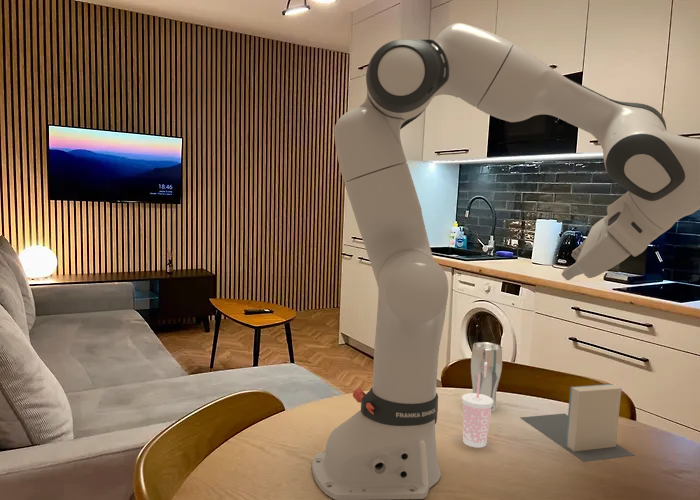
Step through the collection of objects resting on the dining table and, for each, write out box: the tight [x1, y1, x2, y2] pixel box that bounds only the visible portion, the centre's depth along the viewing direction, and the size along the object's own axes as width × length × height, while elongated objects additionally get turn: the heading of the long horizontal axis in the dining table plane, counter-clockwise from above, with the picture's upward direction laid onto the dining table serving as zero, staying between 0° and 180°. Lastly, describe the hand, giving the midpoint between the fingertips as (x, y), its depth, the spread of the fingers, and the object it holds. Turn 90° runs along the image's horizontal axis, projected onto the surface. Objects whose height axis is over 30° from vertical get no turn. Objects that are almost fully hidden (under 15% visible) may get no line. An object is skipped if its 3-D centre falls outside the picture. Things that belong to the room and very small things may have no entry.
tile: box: [565, 383, 622, 451], centre depth 102 cm, size 10×2×12 cm, turn 107°
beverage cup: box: [461, 374, 493, 448], centre depth 103 cm, size 6×6×14 cm
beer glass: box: [470, 341, 503, 413], centre depth 120 cm, size 7×7×15 cm
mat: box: [519, 413, 635, 463], centre depth 108 cm, size 12×20×1 cm, turn 17°
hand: (569, 266), depth 97 cm, fingers open, 8 cm apart
